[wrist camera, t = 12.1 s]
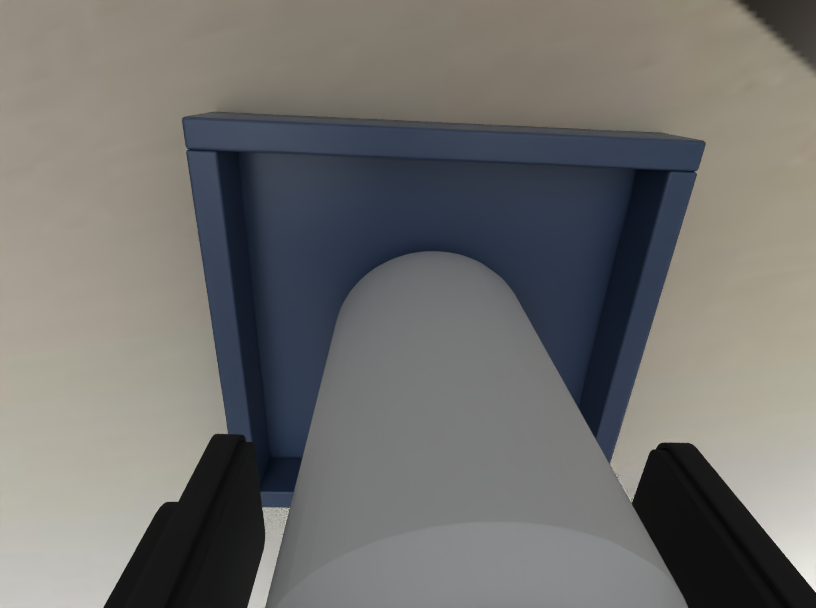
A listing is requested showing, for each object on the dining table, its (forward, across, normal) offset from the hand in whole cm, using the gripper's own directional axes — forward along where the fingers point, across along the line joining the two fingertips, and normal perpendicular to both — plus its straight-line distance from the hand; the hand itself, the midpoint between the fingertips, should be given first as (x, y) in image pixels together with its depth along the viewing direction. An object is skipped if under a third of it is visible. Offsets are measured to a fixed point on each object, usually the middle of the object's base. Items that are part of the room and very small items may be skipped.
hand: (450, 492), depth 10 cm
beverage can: (+8, 0, 0) cm, 8 cm away
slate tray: (+8, 0, 0) cm, 8 cm away
